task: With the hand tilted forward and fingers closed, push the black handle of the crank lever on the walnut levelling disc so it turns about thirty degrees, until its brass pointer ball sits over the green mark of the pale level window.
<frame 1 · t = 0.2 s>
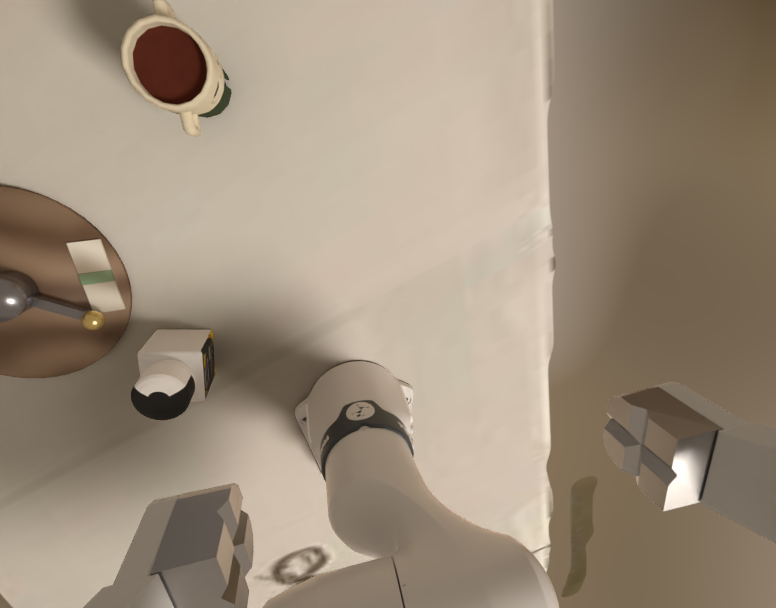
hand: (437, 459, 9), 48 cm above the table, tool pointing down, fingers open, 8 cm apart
character mug: (203, 87, 45), on the table
stand: (21, 288, 49), on the table
medicine bottle: (187, 351, 56), on the table
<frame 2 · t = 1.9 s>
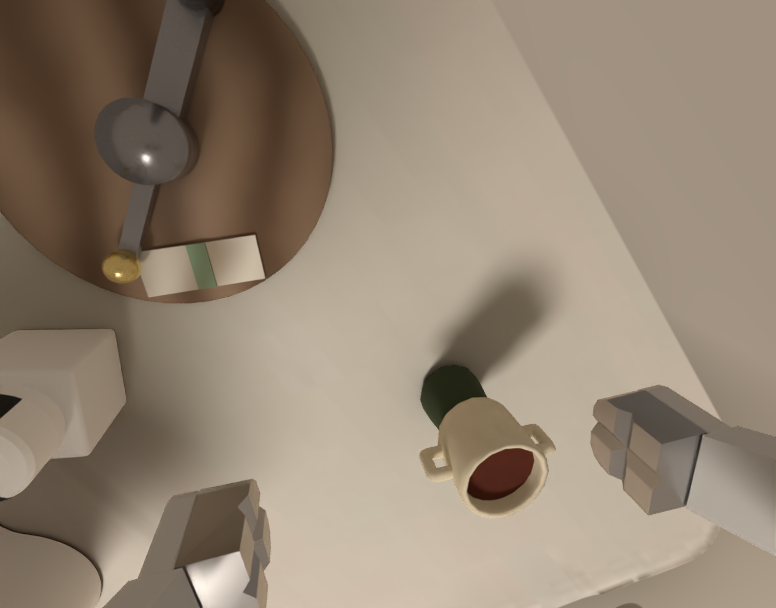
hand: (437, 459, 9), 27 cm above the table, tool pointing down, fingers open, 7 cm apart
character mug: (446, 387, 42), on the table
crank lever: (141, 131, 24), point 6 cm above the table, hinge at 0.0°
stand: (165, 144, 29), on the table
medicine bottle: (75, 366, 33), on the table
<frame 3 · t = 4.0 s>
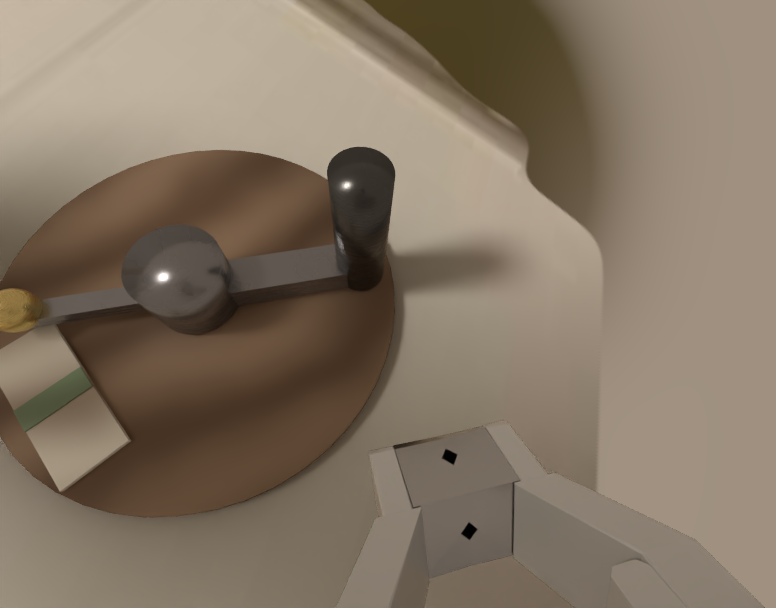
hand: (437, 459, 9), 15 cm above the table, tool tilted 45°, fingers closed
crank lever: (181, 257, 20), point 6 cm above the table, hinge at 0.0°
stand: (205, 303, 25), on the table
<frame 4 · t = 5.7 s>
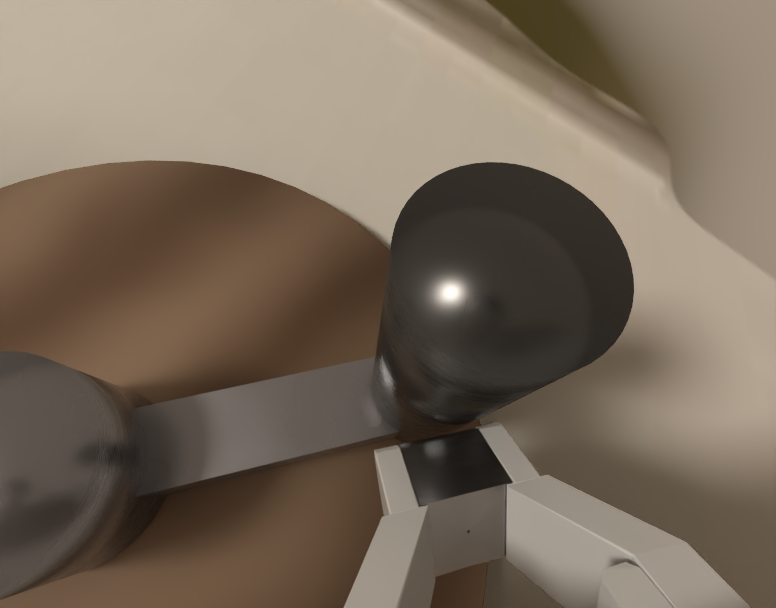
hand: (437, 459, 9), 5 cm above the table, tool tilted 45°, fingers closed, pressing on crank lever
stand: (106, 474, 13), on the table
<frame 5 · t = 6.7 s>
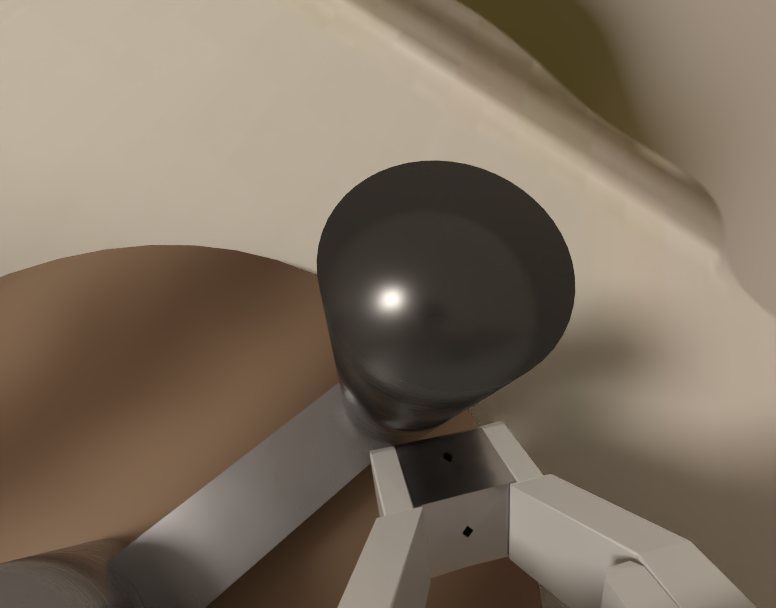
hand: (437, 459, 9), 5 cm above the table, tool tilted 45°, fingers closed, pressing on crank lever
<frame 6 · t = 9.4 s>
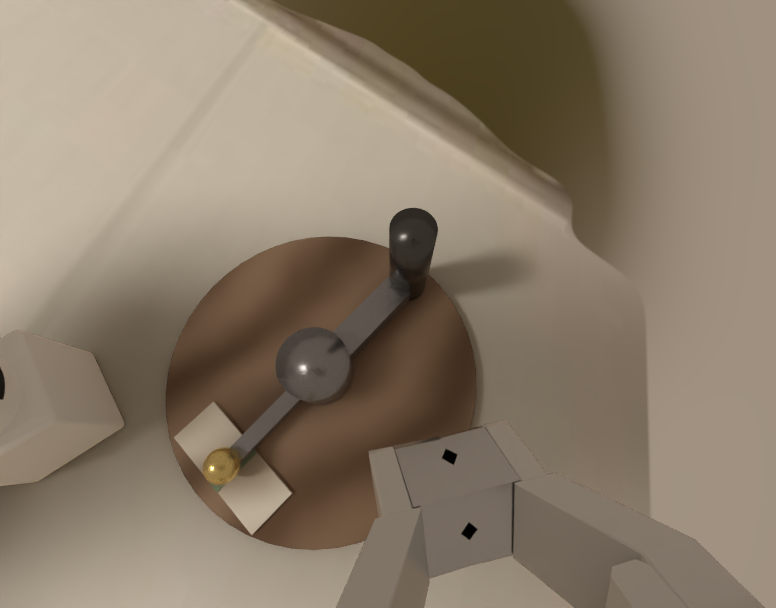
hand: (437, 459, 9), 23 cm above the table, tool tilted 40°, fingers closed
crank lever: (318, 353, 27), point 6 cm above the table, hinge at 31.8°
stand: (323, 374, 32), on the table
medicine bottle: (68, 414, 31), on the table
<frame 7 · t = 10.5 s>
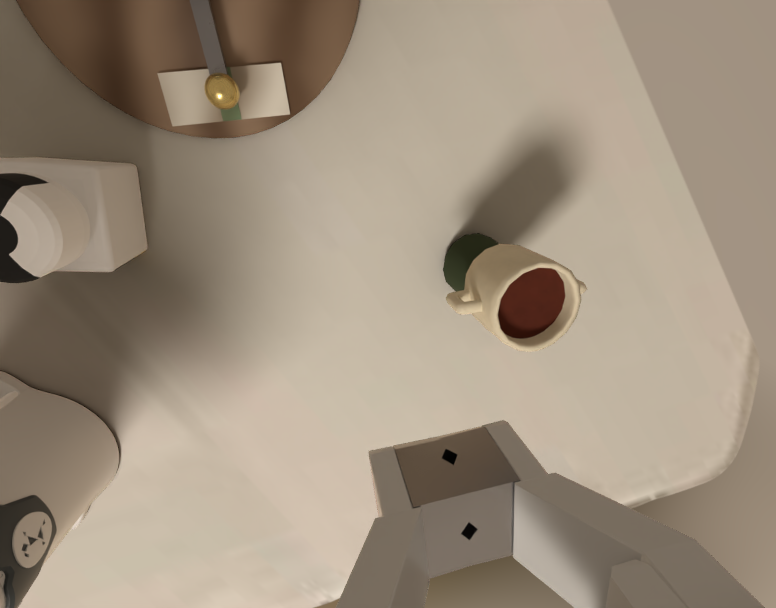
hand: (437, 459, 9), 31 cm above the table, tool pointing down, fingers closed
character mug: (469, 262, 41), on the table
medicine bottle: (97, 206, 33), on the table
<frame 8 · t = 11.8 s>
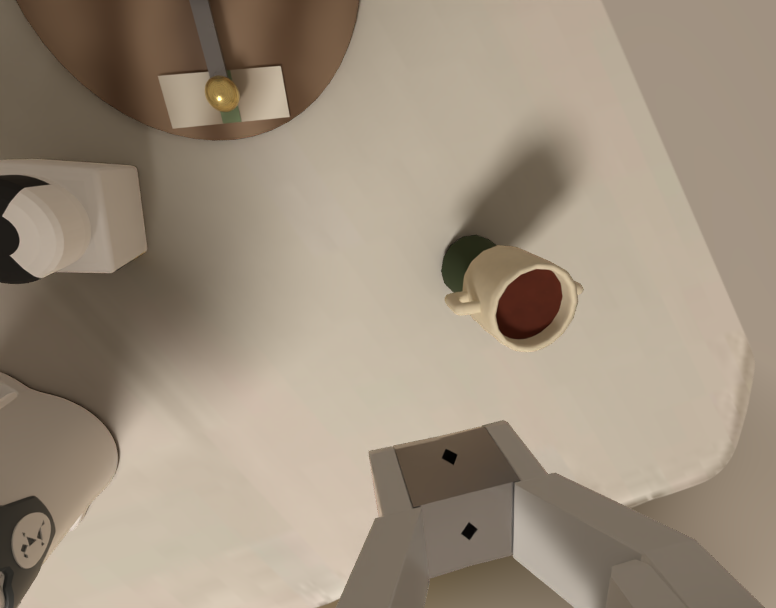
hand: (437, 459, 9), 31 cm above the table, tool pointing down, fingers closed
character mug: (467, 263, 41), on the table
medicine bottle: (97, 207, 33), on the table
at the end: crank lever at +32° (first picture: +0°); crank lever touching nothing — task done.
